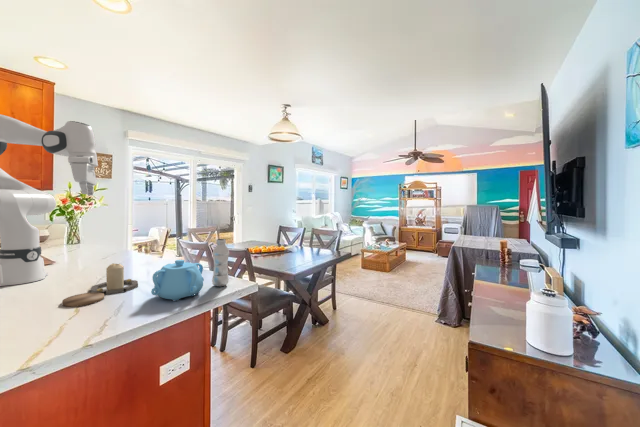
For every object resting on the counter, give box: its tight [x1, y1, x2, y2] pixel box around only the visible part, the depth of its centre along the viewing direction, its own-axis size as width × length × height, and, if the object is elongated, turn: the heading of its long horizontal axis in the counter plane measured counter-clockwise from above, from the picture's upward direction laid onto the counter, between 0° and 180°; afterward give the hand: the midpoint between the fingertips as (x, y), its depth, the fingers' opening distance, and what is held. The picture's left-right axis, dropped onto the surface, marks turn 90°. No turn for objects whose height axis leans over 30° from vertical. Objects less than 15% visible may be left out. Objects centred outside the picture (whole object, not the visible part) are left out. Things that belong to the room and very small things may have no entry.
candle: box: [105, 263, 125, 290], centre depth 107 cm, size 6×6×10 cm
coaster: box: [61, 292, 105, 308], centre depth 93 cm, size 11×11×1 cm
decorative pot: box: [150, 259, 204, 301], centre depth 101 cm, size 16×16×14 cm
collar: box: [89, 278, 139, 296], centre depth 107 cm, size 15×15×2 cm
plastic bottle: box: [211, 238, 230, 287], centre depth 113 cm, size 6×7×20 cm
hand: (87, 194), depth 111 cm, fingers open, 8 cm apart
